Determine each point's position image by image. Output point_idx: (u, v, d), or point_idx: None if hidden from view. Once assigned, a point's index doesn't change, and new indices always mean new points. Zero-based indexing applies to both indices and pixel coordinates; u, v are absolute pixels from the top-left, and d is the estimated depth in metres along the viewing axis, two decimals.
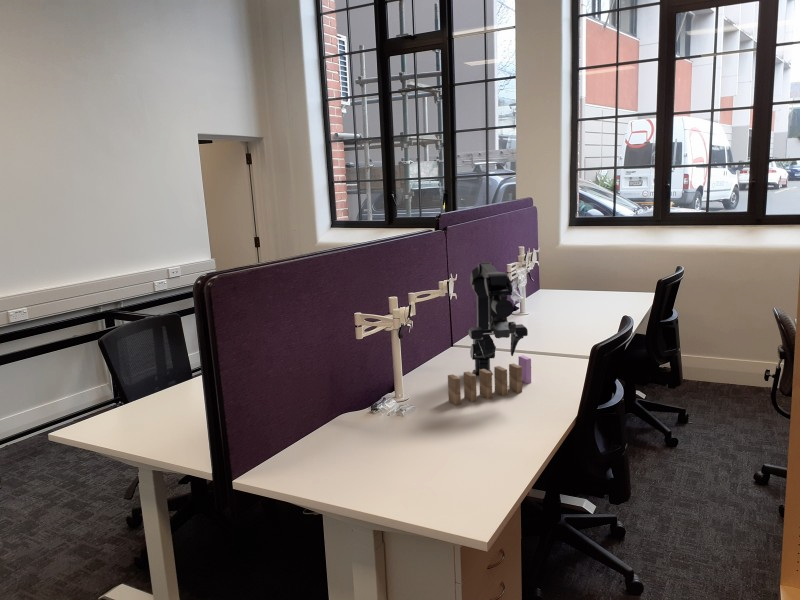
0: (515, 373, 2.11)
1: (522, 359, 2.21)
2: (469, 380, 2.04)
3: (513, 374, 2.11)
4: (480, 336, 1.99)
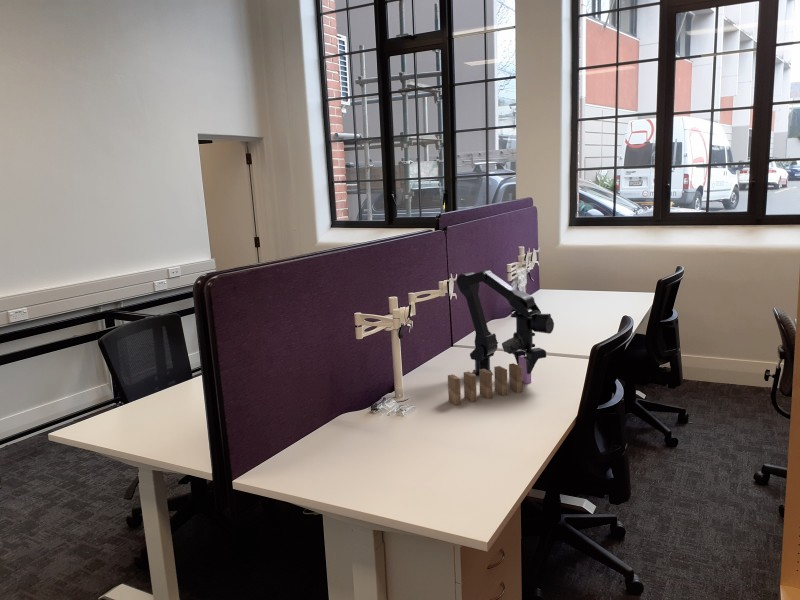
0: (515, 373, 2.11)
1: (522, 359, 2.21)
2: (469, 380, 2.04)
3: (513, 374, 2.11)
4: None
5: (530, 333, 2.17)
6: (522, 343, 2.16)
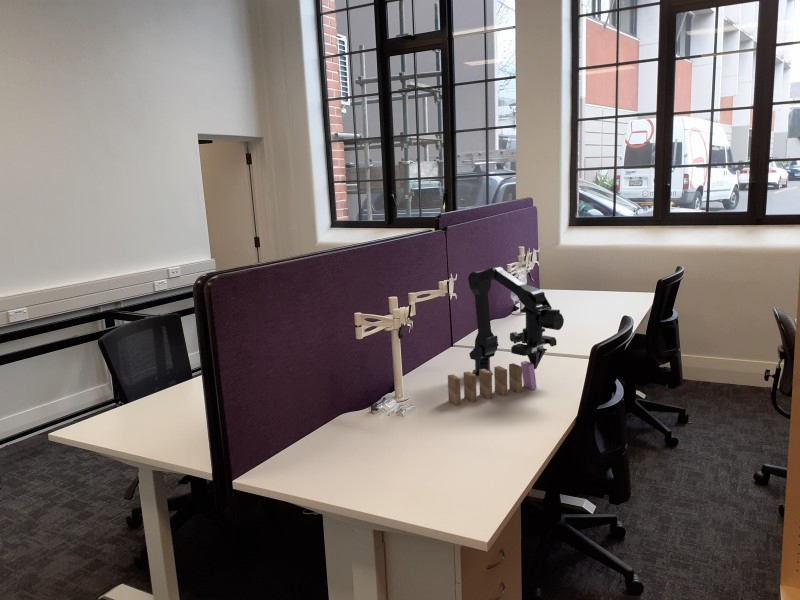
0: (515, 373, 2.11)
1: (525, 365, 2.13)
2: (469, 380, 2.04)
3: (513, 374, 2.11)
4: None
5: (530, 329, 2.10)
6: (522, 337, 2.13)
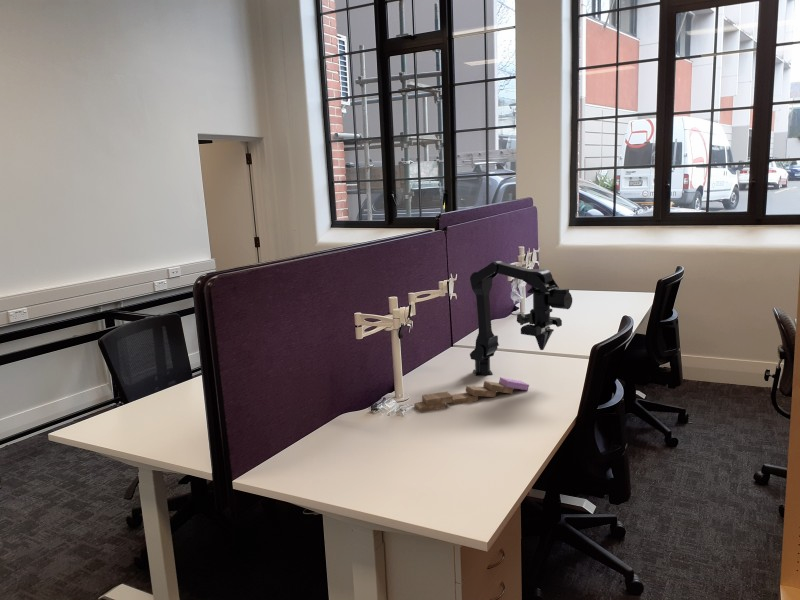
0: None
1: (504, 385, 2.12)
2: None
3: None
4: None
5: (539, 310, 2.10)
6: (530, 318, 2.13)
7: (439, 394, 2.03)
